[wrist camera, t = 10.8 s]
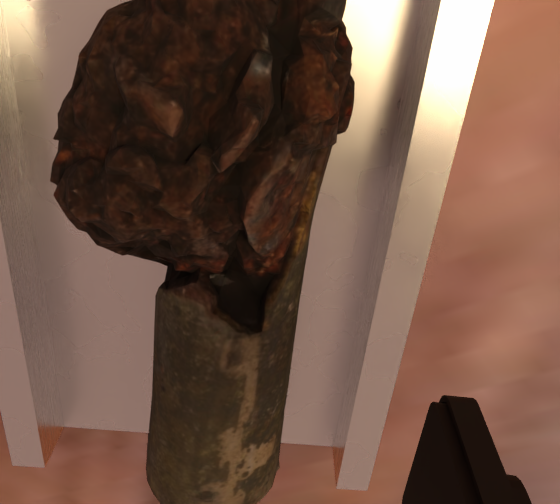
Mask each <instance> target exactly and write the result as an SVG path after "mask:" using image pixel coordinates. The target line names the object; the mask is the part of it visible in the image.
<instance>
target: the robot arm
mask: <svg viewBox="0 0 560 504" xmlns="http://www.w3.org/2000/svg"><path fill="white" fill-rule="evenodd" d="M402 504H532V503H531V501H530V498H529V496H528V494H527V491H526V489H525V487H524V485H523V484H522V482H521V480H519V479H518V478H517V477H516V476H513V475H506V472H505V470H504V467H503V465H502V462H501V460H500V457H499V455H498V452H497V450H496V447H495V445H494V442H493V440H492V437H491V435H490V432H489V430H488V427H487V425H486V422H485V420H484V417H483V415H482V412H481V410H480V407H479V405H478V403H477V401H476V400H475V399H474V398H467V397H457V396H447V395H444V396H442V397H441V399H440V401H439V403H437V402H432V403H431V404H430V407H429V410H428V413H427V417H426V420H425V423H424V427H423V430H422V434H421V437H420V440H419V444H418V447H417V450H416V454H415V457H414V461H413V464H412V467H411V471H410V474H409V477H408V481H407V484H406V488H405V491H404V494H403V500H402Z"/></svg>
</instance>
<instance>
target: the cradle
mask: <svg viewBox="0 0 560 504" xmlns="http://www.w3.org/2000/svg"><path fill="white" fill-rule="evenodd" d="M127 1H130V0H0V412H1V416H2V421H3V425H4V430H5V434H6V439H7V443H8V448H9V452H10V457H11V461H12V466H25V467H40V468H45V467H46V465H47V462H48V460H49V458H50V456H51V454H52V452H53V450H54V448H55V445H56V443H57V441H58V439H59V437H60V435H61V433H62V431H63V429H64V427H74V428H87V429H101V430H114V431H128V432H142V433H149V423H150V412H151V401H152V382H153V352H154V319H155V295H156V293H157V291H158V288H159V287H160V285H161V284H162V283H163V282H164V281H165V277H166V272H167V267H168V266H165V265H163V264H161V263H158V262H154V261H150V260H146V259H142V258H139V257H135V256H131V255H124V256H122V255H120V254H117V253H115V252H113V251H110V250H108V249H106V248H103V247H100V246H97V245H96V244H95V242H94V241H93V240H92V239H91V237H90V236H89V235H88V234H87V232H84V231H81V230H78V229H77V228H76V227H75V226H74V225H73V224H72V223H71V222H70V221H69V219H68V218H67V217H66V215H65V214H64V212H63V211H62V209H61V207H60V206H59V204H58V202H57V201H56V199H55V197H54V196H53V195H54V192H55V190H56V187H57V185H56V184H54V183H52V182H50V177H51V170H52V163H53V161H54V159H55V156H56V154H57V151H58V142H59V140H54V139H53V138H54V135H55V133H56V131H57V129H58V114H57V113H58V112H59V110H60V107H61V104H62V102H63V100H64V98H65V97H66V95H67V94H68V92H69V91H70V89H71V87H72V84H73V80H74V76H75V72H76V67H77V62H78V58H79V57H78V56H79V53H80V51H81V50H82V49H83V47H84V46H85V45H86V43H87V42H88V41H89V39H90V37H91V36H92V34H93V32H94V30H95V28H96V26H97V24H98V22H99V21H100V19H101V18H102V16H103V15H104V14H105V12H106V11H107V10H108V9H110V8H113V7H115V6H117V5H119V4H121V3H124V2H127ZM493 3H494V0H347V1H346V8H345V11H344V15H343V18H342V21H343V22H344V24H345V26H346V34H347V36H348V38H349V40H350V42H351V45H352V47H353V51H352V57H351V63H352V67H351V72H350V73H351V76H352V78H353V80H354V82H355V90H354V106H353V111H352V116H351V119H350V123H349V126H348V128H347V130H346V132H344V133H341V134H338V135H337V143H336V144H334V145H333V146H332V149H331V153H330V156H329V160H328V163H327V167H326V170H325V174H324V178H323V181H322V185H321V188H320V192H319V195H318V199H317V203H316V207H315V211H314V215H313V220H312V225H311V231H310V238H309V246H308V253H307V258H306V264H305V270H304V276H303V283H302V290H301V295H300V302H299V309H298V317H297V325H296V332H295V339H294V347H293V354H292V362H291V369H290V377H289V385H288V392H287V398H286V404H285V411H284V421H283V429H282V436H281V443H291V444H304V445H318V446H331V447H332V448H333V459H334V470H335V481H336V489H348V490H363V491H367V490H368V486H369V483H370V479H371V475H372V471H373V467H374V463H375V459H376V455H377V452H378V448H379V444H380V440H381V436H382V432H383V428H384V425H385V421H386V417H387V413H388V409H389V405H390V401H391V398H392V394H393V390H394V386H395V382H396V378H397V374H398V370H399V367H400V363H401V359H402V355H403V351H404V347H405V343H406V340H407V336H408V332H409V328H410V324H411V320H412V316H413V313H414V309H415V305H416V301H417V297H418V293H419V289H420V285H421V282H422V278H423V274H424V270H425V266H426V262H427V258H428V255H429V251H430V247H431V243H432V239H433V235H434V231H435V228H436V224H437V220H438V216H439V212H440V208H441V204H442V200H443V197H444V193H445V189H446V185H447V181H448V177H449V173H450V170H451V166H452V162H453V158H454V154H455V150H456V146H457V143H458V139H459V135H460V131H461V127H462V123H463V119H464V115H465V112H466V108H467V104H468V100H469V96H470V92H471V88H472V85H473V81H474V77H475V73H476V69H477V65H478V61H479V58H480V54H481V50H482V46H483V42H484V38H485V34H486V30H487V27H488V23H489V19H490V15H491V11H492V7H493Z"/></svg>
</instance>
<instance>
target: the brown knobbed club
mask: <svg viewBox="0 0 560 504" xmlns="http://www.w3.org/2000/svg"><path fill="white" fill-rule="evenodd" d="M346 1H347V0H130V1H127V2H124V3H121V4H119V5H117V6H115V7H113V8H110V9H108V10H107V11H106V12H105V14H104V15H103V16H102V18H101V19H100V21H99V22H98V24H97V26H96V28H95V30H94V32H93V34H92V36H91V37H90V39H89V41H88V42H87V43H86V45H85V46H84V47H83V49H82V50H81V51H80V53H79V56H78V57H79V58H78V62H77V67H76V72H75V76H74V80H73V84H72V87H71V89H70V91H69V92H68V94H67V95H66V97H65V98H64V100H63V102H62V104H61V107H60V110H59V112H58V113H57V114H58V129H57V131H56V133H55V135H54V138H53V139H54V140H59V142H58V151H57V154H56V156H55V159H54V161H53V163H52V170H51V177H50V182H52V183H54V184H56V185H57V187H56V190H55V192H54V195H53V196H54V197H55V199H56V201H57V202H58V204H59V206H60V207H61V209H62V211H63V212H64V214H65V215H66V217H67V218H68V219H69V221H70V222H71V223H72V224H73V225H74V226H75V227H76V228H77V229H78V230H81V231H84V232H87V234H88V235H89V236H90V237H91V239H92V240H93V241H94V242H95V244H96V245H97V246H100V247H103V248H106V249H108V250H110V251H113V252H115V253H117V254H120V255H122V256H124V255H131V256H135V257H139V258H142V259H146V260H150V261H154V262H158V263H161V264H163V265H165V266H168V267H167V272H166V277H165V281H164V282H163V283H162V284H161V285H160V287H159V288H158V291H157V293H156V295H155V319H154V352H153V382H152V401H151V412H150V423H149V433H148V445H147V462H146V472H147V481H148V483H149V486H150V488H151V490H152V492H153V494H154V495H155V497H156V498H157V499H158V501H159V502H160V503H161V504H257V503H258V502H259V501H260V500H261V499H262V498H263V497H264V496H265V495H266V494H267V492H268V491H269V490H270V488H271V487H272V485H273V482H274V478H275V475H276V472H277V470H278V469H279V468H280V466H279V453H280V444H281V436H282V429H283V421H284V411H285V404H286V398H287V392H288V385H289V377H290V369H291V362H292V354H293V347H294V339H295V332H296V325H297V317H298V309H299V302H300V295H301V290H302V283H303V276H304V270H305V264H306V258H307V253H308V246H309V238H310V231H311V225H312V220H313V215H314V211H315V207H316V203H317V199H318V195H319V192H320V188H321V185H322V181H323V178H324V174H325V170H326V167H327V163H328V160H329V156H330V153H331V149H332V146H333V145H334V144H336V143H337V135H338V134H341V133H344V132H346V130H347V128H348V126H349V123H350V119H351V116H352V111H353V106H354V90H355V82H354V80H353V78H352V76H351V73H350V72H351V67H352V63H351V57H352V51H353V47H352V45H351V42H350V40H349V38H348V36H347V34H346V26H345V24H344V22H343V21H342V18H343V15H344V11H345V8H346Z"/></svg>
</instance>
